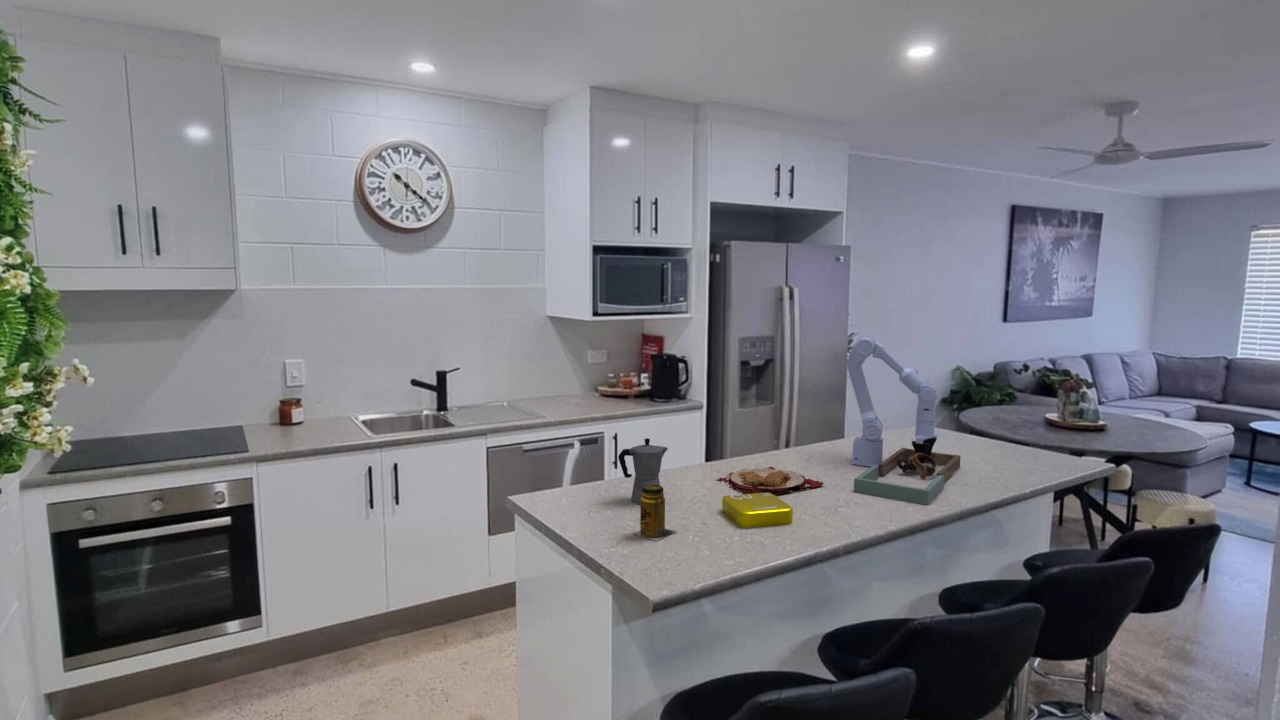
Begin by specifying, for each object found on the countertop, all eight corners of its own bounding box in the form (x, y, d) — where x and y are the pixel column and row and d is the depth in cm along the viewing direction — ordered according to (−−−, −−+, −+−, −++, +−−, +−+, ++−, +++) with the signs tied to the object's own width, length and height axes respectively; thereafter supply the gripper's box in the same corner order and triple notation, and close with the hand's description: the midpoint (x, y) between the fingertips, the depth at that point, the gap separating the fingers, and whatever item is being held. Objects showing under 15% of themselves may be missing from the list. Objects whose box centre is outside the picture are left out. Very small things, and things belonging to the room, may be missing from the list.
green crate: (853, 491, 205) (854, 478, 205) (873, 477, 221) (874, 464, 220) (928, 505, 193) (928, 491, 192) (943, 488, 209) (944, 475, 208)
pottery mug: (922, 471, 229) (934, 453, 225) (930, 491, 221) (942, 473, 217) (888, 463, 228) (900, 444, 224) (895, 482, 220) (907, 464, 216)
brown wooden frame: (878, 476, 222) (879, 464, 221) (902, 458, 244) (902, 447, 244) (941, 486, 211) (942, 473, 210) (959, 467, 233) (960, 455, 233)
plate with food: (825, 489, 210) (825, 478, 210) (757, 500, 196) (758, 488, 196) (771, 471, 231) (771, 461, 231) (707, 480, 218) (707, 469, 217)
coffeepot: (659, 492, 203) (660, 433, 201) (675, 502, 194) (675, 439, 192) (611, 499, 196) (611, 437, 194) (625, 509, 188) (625, 445, 186)
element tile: (741, 530, 174) (741, 511, 173) (719, 510, 188) (720, 493, 187) (795, 525, 177) (795, 507, 177) (770, 506, 192) (770, 490, 191)
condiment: (632, 534, 169) (633, 487, 168) (654, 525, 176) (654, 479, 174) (655, 541, 164) (656, 493, 163) (677, 532, 171) (677, 485, 170)
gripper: (933, 425, 220) (930, 467, 222) (943, 418, 232) (940, 458, 234) (910, 423, 224) (908, 463, 226) (921, 416, 236) (919, 455, 238)
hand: (923, 460), depth 230 cm, fingers open, 7 cm apart
